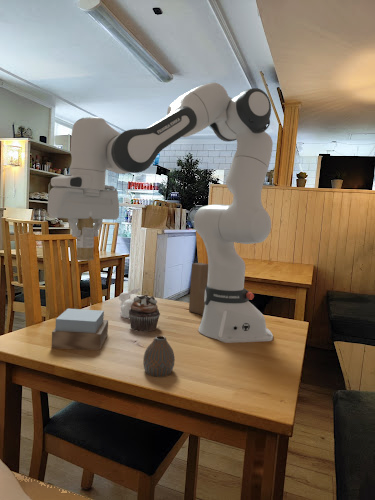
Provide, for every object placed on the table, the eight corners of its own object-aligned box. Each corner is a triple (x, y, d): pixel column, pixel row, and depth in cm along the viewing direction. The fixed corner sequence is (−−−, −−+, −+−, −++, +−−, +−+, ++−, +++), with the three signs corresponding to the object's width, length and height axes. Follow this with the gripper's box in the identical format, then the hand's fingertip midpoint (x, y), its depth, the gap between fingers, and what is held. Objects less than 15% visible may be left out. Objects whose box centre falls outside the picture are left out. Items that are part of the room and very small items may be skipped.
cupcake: (121, 327, 113) (122, 295, 111) (143, 321, 120) (145, 291, 119) (143, 335, 107) (145, 302, 106) (165, 328, 115) (167, 297, 113)
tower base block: (107, 337, 105) (108, 320, 104) (99, 353, 93) (100, 334, 92) (64, 334, 104) (65, 317, 104) (51, 351, 92) (52, 331, 92)
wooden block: (215, 314, 134) (219, 266, 132) (207, 317, 130) (211, 266, 128) (195, 309, 140) (199, 262, 138) (188, 311, 136) (191, 263, 134)
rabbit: (116, 312, 128) (117, 286, 127) (136, 311, 131) (138, 285, 130) (123, 321, 119) (125, 292, 118) (145, 319, 122) (147, 291, 121)
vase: (169, 384, 78) (172, 345, 77) (138, 380, 79) (140, 340, 78) (176, 371, 85) (178, 334, 84) (147, 367, 86) (149, 330, 85)
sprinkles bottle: (74, 259, 97) (74, 208, 96) (91, 259, 99) (91, 208, 98) (78, 261, 93) (77, 207, 92) (96, 260, 95) (96, 208, 94)
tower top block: (103, 321, 103) (103, 310, 103) (95, 333, 93) (95, 321, 93) (67, 318, 103) (67, 308, 102) (55, 330, 93) (55, 319, 92)
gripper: (109, 186, 104) (107, 234, 106) (44, 178, 88) (43, 235, 89) (125, 186, 101) (123, 237, 102) (60, 178, 84) (58, 238, 86)
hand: (85, 236), depth 95 cm, fingers closed on sprinkles bottle, 4 cm apart
